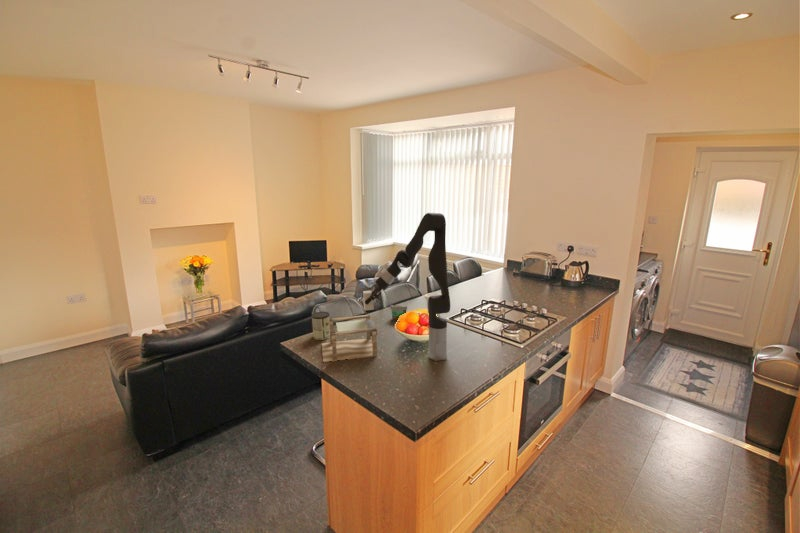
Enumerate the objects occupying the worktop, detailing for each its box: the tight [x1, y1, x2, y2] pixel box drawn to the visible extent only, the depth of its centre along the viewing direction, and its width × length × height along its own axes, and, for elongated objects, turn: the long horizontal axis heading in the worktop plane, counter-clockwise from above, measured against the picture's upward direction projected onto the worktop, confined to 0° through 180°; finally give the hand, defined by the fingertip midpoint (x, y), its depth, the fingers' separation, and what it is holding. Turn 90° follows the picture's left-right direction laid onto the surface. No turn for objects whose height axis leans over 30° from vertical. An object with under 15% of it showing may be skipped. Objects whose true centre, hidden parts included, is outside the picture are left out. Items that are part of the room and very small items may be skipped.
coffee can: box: [311, 311, 330, 341], centre depth 217 cm, size 10×10×14 cm
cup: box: [424, 292, 442, 318], centre depth 248 cm, size 12×12×15 cm
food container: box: [389, 303, 408, 322], centre depth 242 cm, size 12×6×10 cm, turn 62°
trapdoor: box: [335, 318, 378, 337], centre depth 198 cm, size 18×20×4 cm
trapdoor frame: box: [321, 314, 378, 363], centre depth 198 cm, size 23×28×15 cm
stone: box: [362, 290, 375, 311], centre depth 206 cm, size 5×5×10 cm
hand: (365, 302), depth 206 cm, fingers closed on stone, 5 cm apart
